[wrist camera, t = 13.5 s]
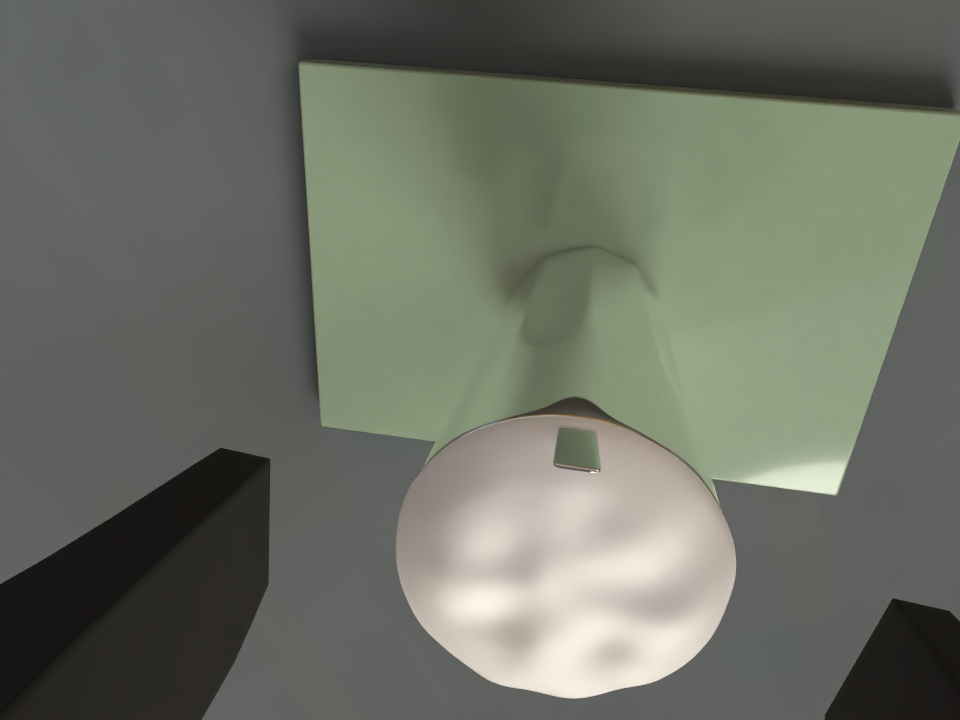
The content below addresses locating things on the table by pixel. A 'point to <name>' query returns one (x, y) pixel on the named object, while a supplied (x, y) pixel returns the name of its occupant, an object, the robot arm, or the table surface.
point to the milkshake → (570, 496)
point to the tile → (618, 242)
